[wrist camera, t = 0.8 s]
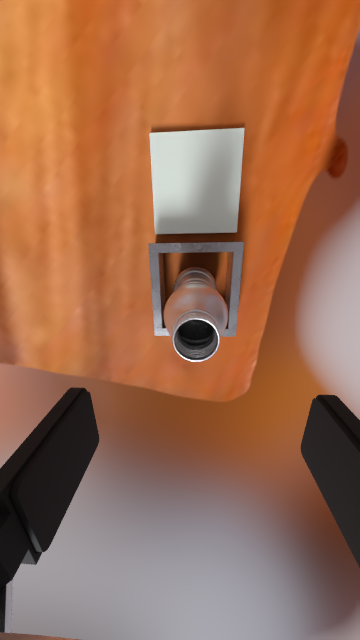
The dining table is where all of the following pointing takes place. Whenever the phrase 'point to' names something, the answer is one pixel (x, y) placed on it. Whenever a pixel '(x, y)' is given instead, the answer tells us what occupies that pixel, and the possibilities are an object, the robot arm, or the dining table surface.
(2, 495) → the robot arm
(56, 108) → the dining table surface
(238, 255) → the steel collar
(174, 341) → the plastic bottle
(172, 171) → the mat
